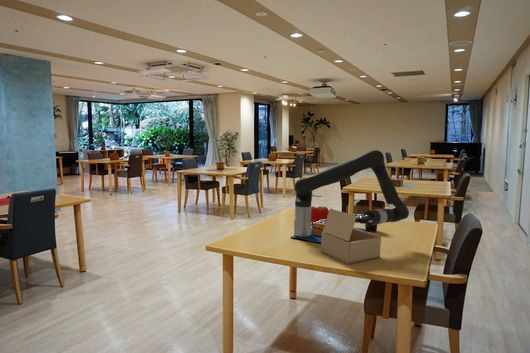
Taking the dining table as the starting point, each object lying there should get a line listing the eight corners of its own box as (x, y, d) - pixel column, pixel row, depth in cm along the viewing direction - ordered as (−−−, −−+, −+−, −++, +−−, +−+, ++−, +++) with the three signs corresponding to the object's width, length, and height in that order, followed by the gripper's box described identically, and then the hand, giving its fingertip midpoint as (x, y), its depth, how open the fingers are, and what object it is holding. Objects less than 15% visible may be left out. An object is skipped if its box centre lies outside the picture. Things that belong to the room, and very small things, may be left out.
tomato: (311, 227, 245) (312, 208, 243) (305, 221, 259) (306, 204, 257) (332, 226, 247) (332, 208, 245) (325, 221, 261) (325, 204, 259)
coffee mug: (378, 232, 233) (379, 216, 231) (364, 232, 234) (364, 215, 233) (377, 228, 244) (378, 212, 243) (363, 227, 246) (363, 211, 244)
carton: (351, 246, 206) (352, 227, 205) (381, 257, 188) (382, 237, 187) (320, 251, 196) (320, 232, 195) (348, 264, 178) (349, 243, 177)
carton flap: (323, 231, 194) (330, 208, 195) (348, 241, 178) (356, 216, 179) (322, 231, 194) (329, 208, 194) (348, 241, 178) (355, 215, 178)
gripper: (366, 207, 203) (340, 210, 195) (386, 212, 192) (359, 215, 183) (366, 221, 204) (340, 225, 195) (385, 227, 193) (358, 231, 184)
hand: (349, 220), depth 189 cm, fingers closed
